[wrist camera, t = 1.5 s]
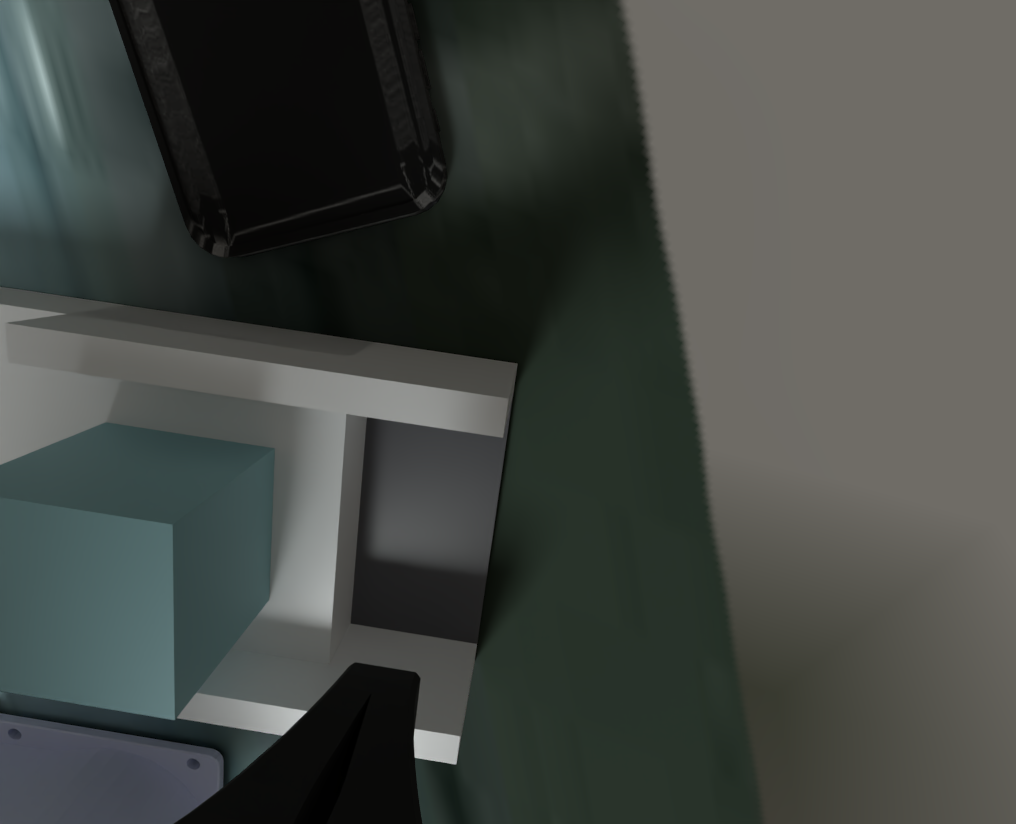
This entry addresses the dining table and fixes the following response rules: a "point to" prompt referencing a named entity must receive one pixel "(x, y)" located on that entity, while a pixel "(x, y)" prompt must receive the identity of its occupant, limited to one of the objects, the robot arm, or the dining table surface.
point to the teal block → (130, 565)
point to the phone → (286, 115)
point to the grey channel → (300, 485)
